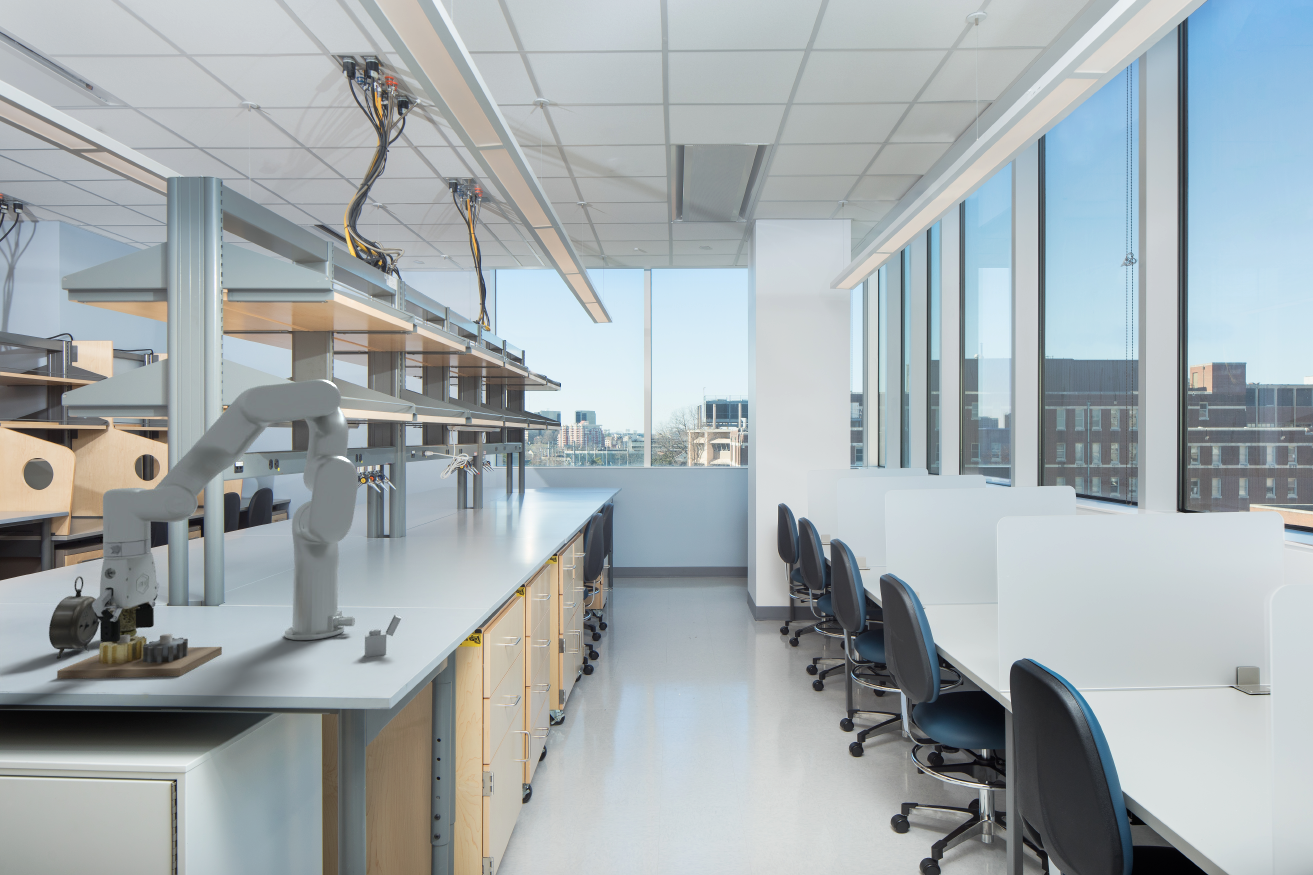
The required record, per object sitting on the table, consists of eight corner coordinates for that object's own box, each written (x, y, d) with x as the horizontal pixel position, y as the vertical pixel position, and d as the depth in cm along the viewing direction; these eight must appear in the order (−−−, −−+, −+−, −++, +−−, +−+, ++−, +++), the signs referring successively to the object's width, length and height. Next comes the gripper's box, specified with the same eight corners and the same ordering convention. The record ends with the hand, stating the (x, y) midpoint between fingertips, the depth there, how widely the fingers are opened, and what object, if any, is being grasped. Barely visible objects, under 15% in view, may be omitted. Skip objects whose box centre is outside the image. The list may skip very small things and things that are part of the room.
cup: (123, 642, 148) (124, 606, 148) (97, 640, 150) (98, 604, 150) (155, 633, 156) (156, 599, 156) (129, 631, 157) (130, 597, 157)
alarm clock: (76, 646, 145) (78, 572, 145) (105, 644, 147) (107, 571, 147) (45, 661, 135) (48, 581, 135) (77, 659, 136) (79, 580, 136)
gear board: (221, 653, 140) (222, 625, 140) (180, 675, 126) (180, 644, 127) (111, 655, 138) (112, 627, 138) (57, 678, 124) (58, 646, 125)
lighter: (365, 656, 139) (365, 618, 139) (364, 654, 140) (365, 617, 141) (400, 652, 142) (401, 615, 142) (399, 650, 144) (400, 613, 144)
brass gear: (154, 652, 136) (155, 635, 136) (129, 663, 129) (130, 645, 129) (116, 653, 135) (117, 636, 135) (89, 664, 128) (90, 646, 128)
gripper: (116, 556, 124) (116, 646, 124) (174, 542, 142) (175, 621, 142) (73, 557, 124) (74, 648, 124) (137, 543, 141) (138, 622, 141)
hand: (128, 633), depth 133 cm, fingers open, 9 cm apart
